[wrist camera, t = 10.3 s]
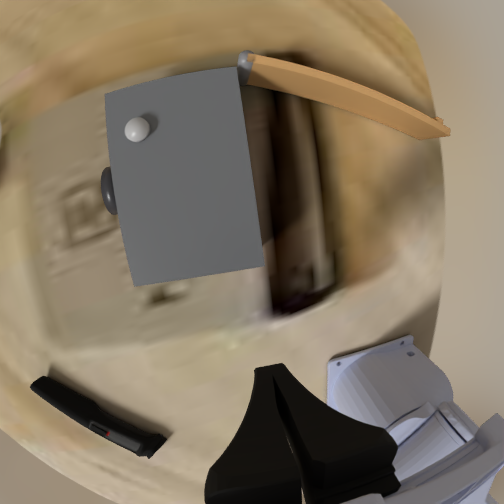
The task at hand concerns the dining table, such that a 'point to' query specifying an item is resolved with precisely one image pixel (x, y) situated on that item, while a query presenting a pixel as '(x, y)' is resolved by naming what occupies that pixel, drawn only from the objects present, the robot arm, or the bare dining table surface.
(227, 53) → the dining table surface
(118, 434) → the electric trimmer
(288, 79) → the side door
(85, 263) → the dining table surface
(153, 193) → the camera body
